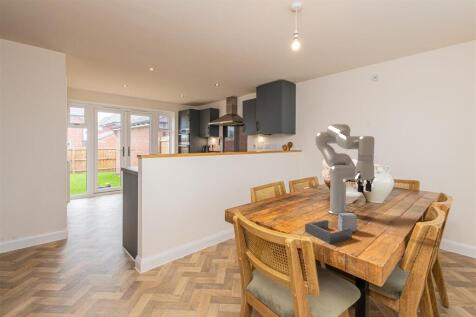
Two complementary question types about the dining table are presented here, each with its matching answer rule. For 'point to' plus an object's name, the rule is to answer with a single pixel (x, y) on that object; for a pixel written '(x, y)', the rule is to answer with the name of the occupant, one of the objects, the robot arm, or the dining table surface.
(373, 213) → the dining table surface
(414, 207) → the dining table surface
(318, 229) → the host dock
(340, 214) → the medicine box
